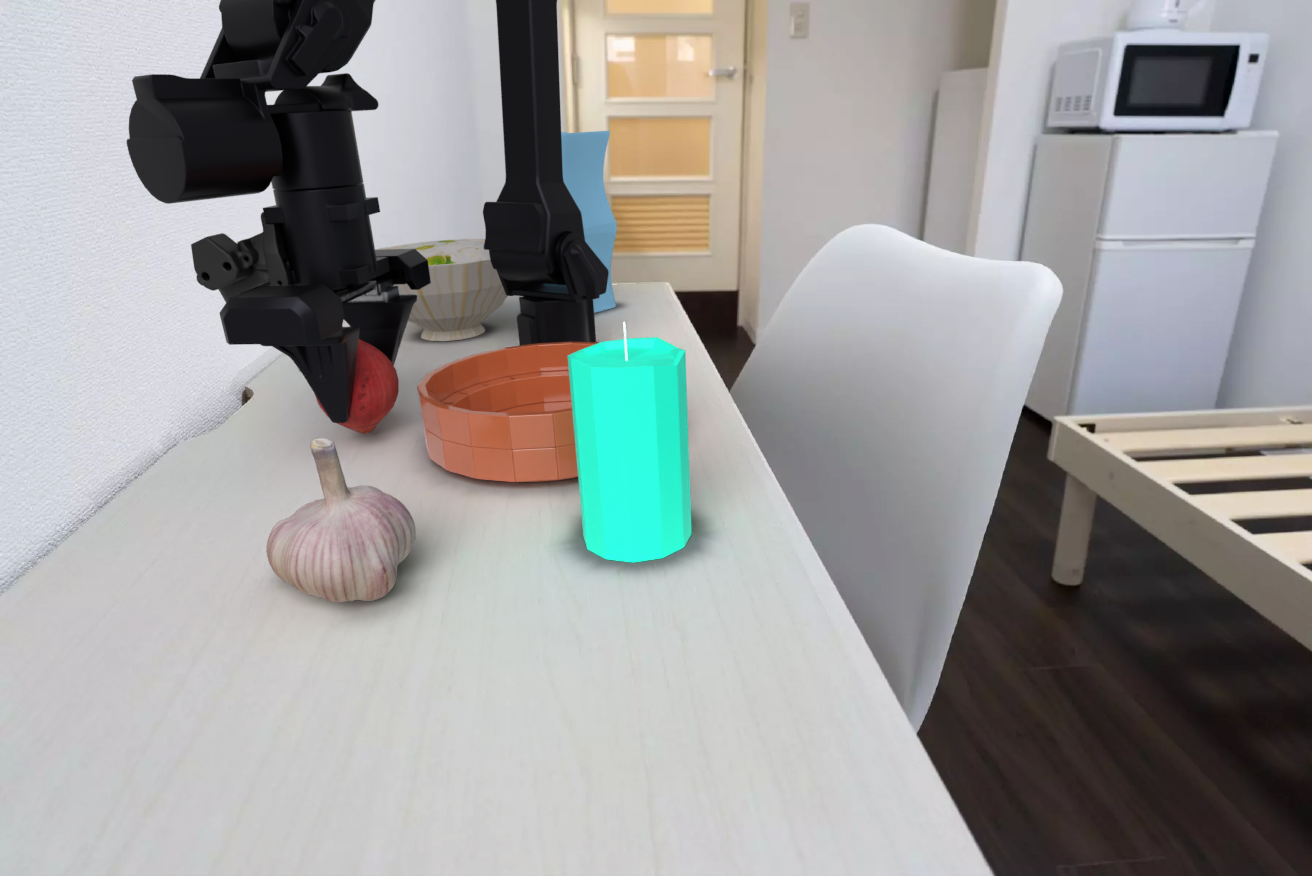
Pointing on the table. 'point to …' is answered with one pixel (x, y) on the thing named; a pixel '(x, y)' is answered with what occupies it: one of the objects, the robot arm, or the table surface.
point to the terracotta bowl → (503, 414)
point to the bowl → (454, 289)
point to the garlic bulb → (342, 537)
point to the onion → (371, 389)
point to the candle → (632, 447)
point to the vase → (591, 198)
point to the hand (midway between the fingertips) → (360, 407)
